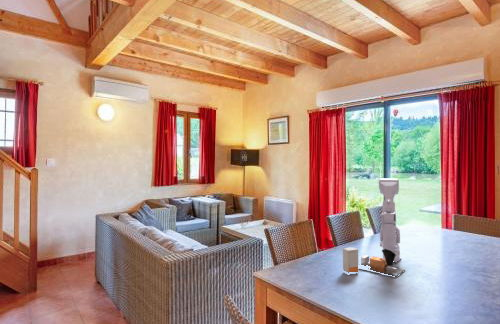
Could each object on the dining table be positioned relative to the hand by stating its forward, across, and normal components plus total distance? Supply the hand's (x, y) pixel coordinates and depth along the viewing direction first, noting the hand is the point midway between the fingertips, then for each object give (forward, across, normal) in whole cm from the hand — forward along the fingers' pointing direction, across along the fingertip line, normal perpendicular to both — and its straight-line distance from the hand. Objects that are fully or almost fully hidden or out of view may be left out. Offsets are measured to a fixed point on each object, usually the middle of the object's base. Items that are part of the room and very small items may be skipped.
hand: (389, 265), depth 145 cm
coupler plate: (+3, +3, +3) cm, 6 cm away
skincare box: (+3, +1, +19) cm, 20 cm away
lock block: (+2, +4, +4) cm, 6 cm away
